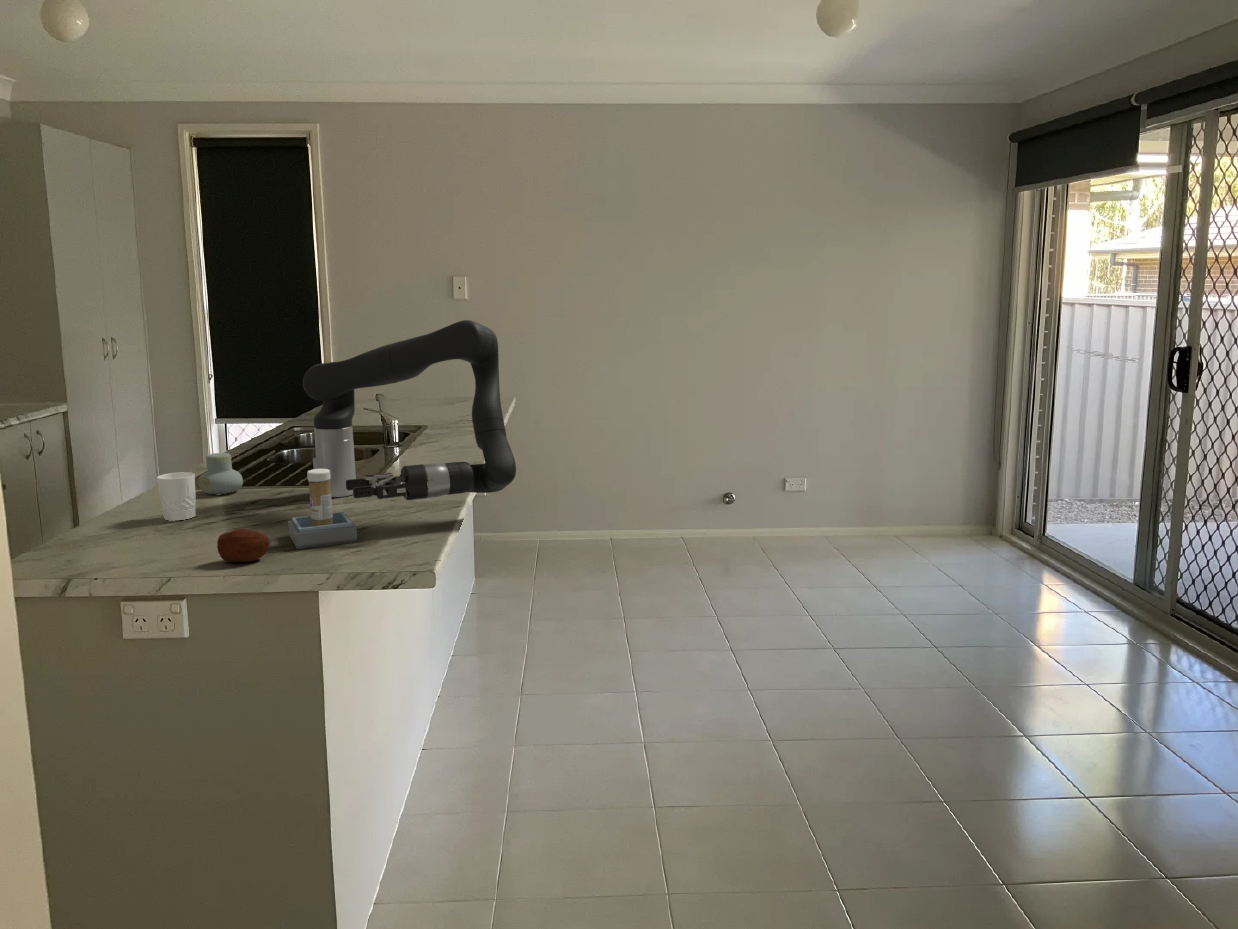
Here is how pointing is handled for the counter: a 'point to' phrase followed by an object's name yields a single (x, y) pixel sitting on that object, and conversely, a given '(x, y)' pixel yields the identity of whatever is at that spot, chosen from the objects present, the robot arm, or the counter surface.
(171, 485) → the white cup
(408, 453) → the counter surface
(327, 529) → the blue square tray
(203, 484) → the air freshener
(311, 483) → the sprinkles bottle
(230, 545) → the potato
